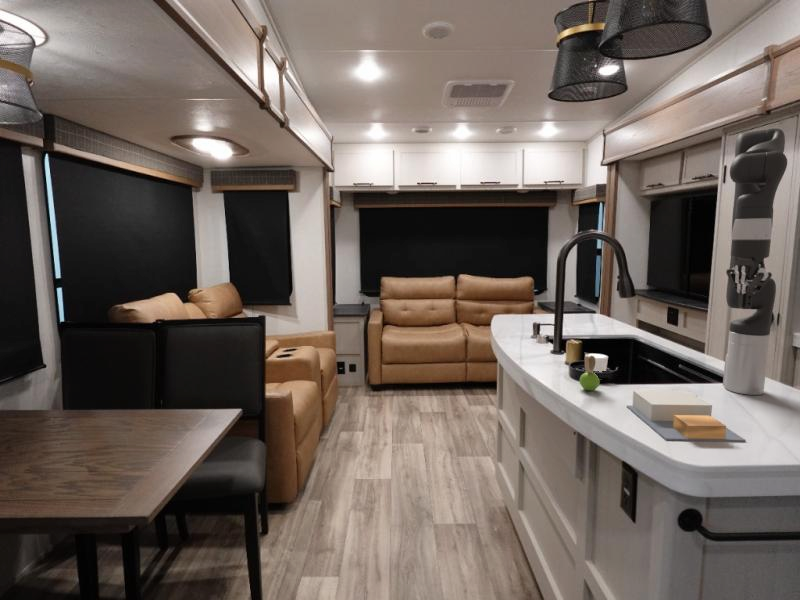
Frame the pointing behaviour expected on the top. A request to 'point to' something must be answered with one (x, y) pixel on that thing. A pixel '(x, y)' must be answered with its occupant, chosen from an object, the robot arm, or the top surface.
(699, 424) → the orange flat block
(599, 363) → the white chunky block
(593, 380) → the green maraca
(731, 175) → the robot arm
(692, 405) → the white rectangular block
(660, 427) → the mat
